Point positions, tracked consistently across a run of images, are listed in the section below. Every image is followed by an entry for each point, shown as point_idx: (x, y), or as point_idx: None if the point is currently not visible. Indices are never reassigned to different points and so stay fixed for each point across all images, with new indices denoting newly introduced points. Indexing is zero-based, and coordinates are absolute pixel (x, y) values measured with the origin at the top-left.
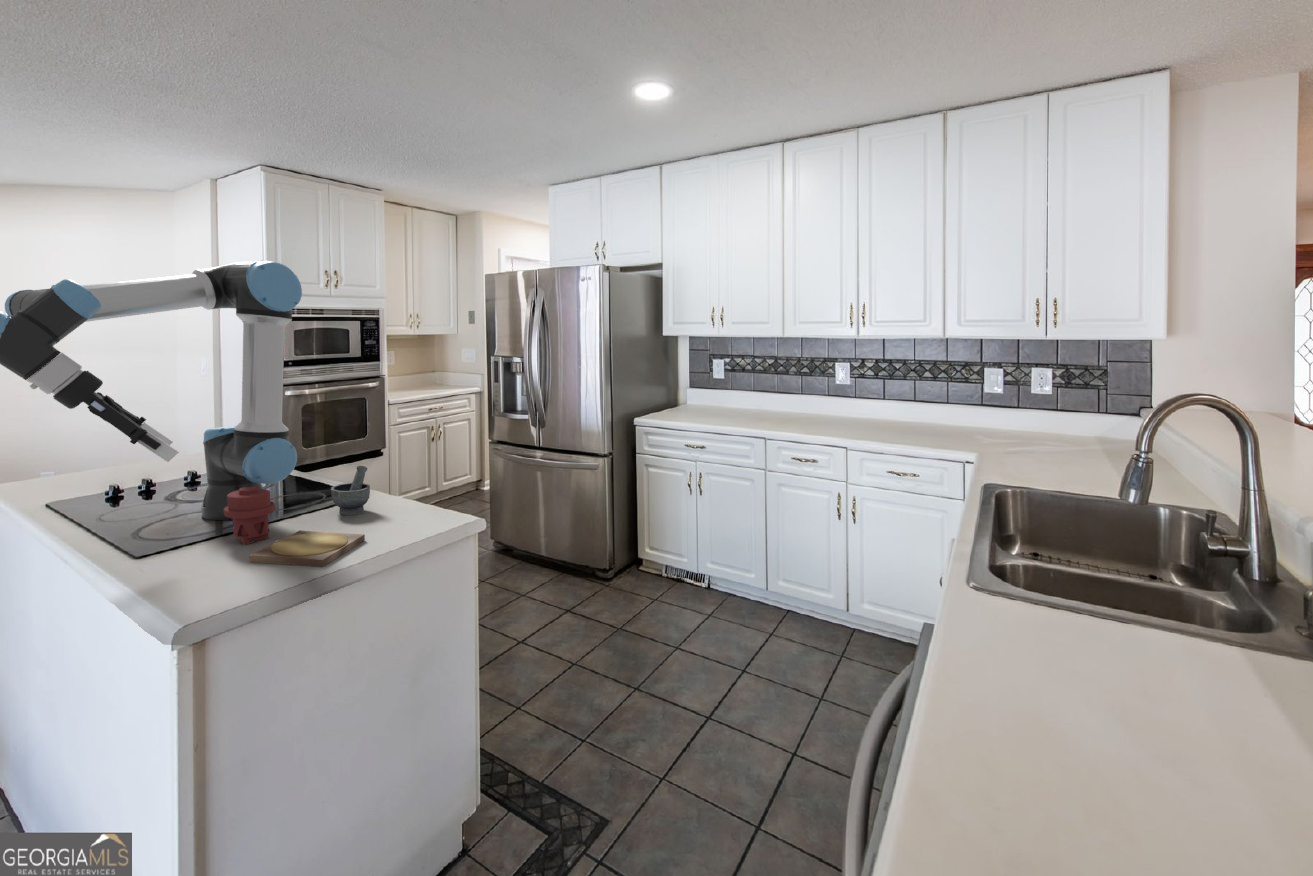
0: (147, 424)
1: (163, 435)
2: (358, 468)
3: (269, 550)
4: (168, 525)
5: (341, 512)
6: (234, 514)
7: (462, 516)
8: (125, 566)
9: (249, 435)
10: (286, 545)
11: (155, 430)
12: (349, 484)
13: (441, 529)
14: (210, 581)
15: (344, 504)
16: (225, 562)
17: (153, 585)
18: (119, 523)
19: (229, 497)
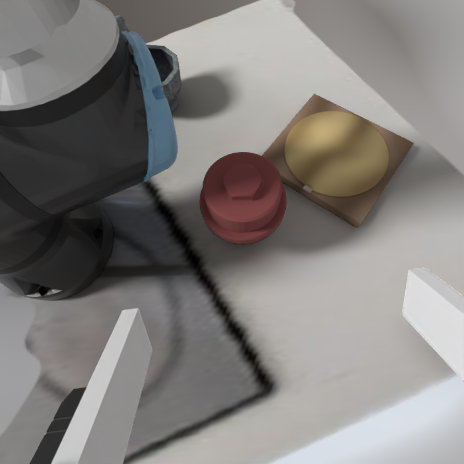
0: (70, 449)
1: (118, 345)
2: (119, 26)
3: (345, 199)
4: (80, 353)
5: None
6: (278, 224)
7: (253, 4)
8: (310, 404)
9: (107, 82)
10: (336, 177)
11: (106, 387)
12: None
13: (300, 28)
14: None
15: (174, 96)
16: (345, 258)
17: (425, 351)
18: (5, 450)
19: (261, 217)
